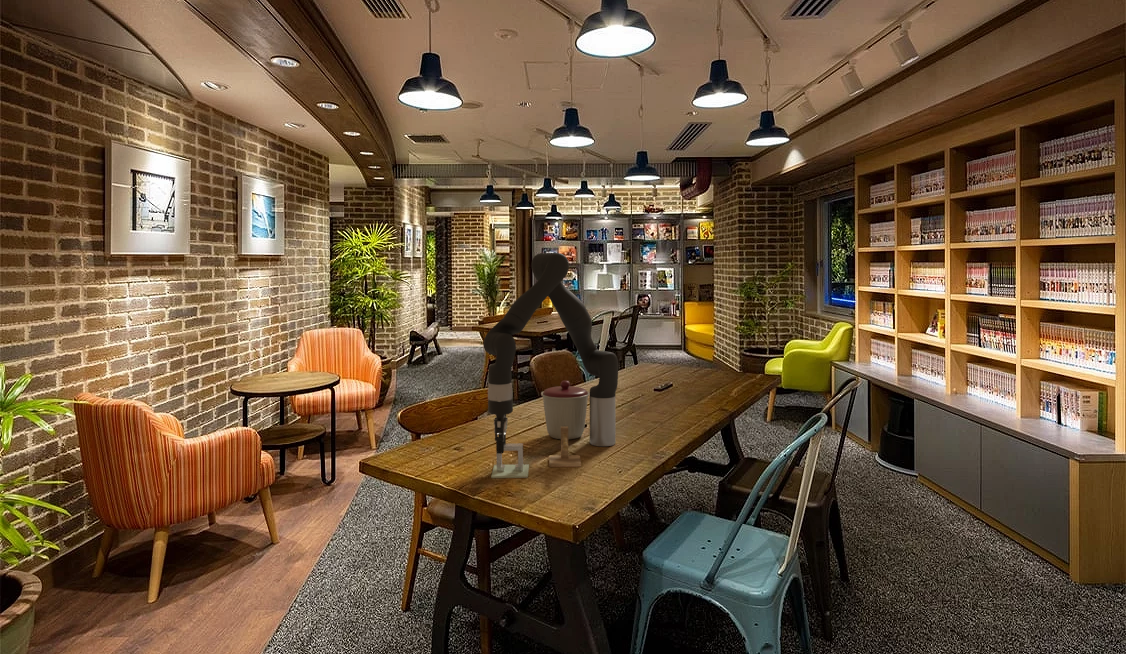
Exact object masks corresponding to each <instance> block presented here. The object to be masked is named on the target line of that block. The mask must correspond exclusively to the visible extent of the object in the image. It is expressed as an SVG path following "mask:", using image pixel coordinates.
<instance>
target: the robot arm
mask: <svg viewBox="0 0 1126 654" xmlns="http://www.w3.org/2000/svg"><path fill="white" fill-rule="evenodd" d="M531 270H532V274H533V276H534V277H535V280H536V282H535V283H534V284H533V285H532V286H531V287H530V288H528V289H527V290H525V292H523V293H522V295H520V296H519V297H518V298H516V300H515V301H514V302H513V303H512V304H511V306H510V308H509V309H508V311H506V314H505V315H504V316H503V318H501V320H499V321H498V322H497V323H496V324H495V325H494V326H493V327H492V328H491V329H490V330H489V331H488V332H487V334H485V337H484V340H483V349H484V351H485V352H486V353H487V354H489V355H493V356H496V358H495V363H491V364H490V365H489V366H488V375H487V376H488V377H487V378H488V386H487V387H488V388H487V406H488V407H487V410H488V411H487V412H488V413H489V414H490V415H495V417H494V419H493V427H494V429H493V432H494V441H495V442H496V443H495V447H496V450H495V452H497V453H498V454H502V455H503V453H504V452H505V451H504V444H507V438H506V437H507V436H506V434H507V429H508V421H509V419H508V417H507V415H510V414H512V413H513V411H514V407H513V405H514V404H513V401H514V399H513V398H514V397H513V394H514V393H513V384H512V382H513V381H512V378H513V377H512V368H513V365H514V360H515V356H516V350H517V344H516V341H515V337H514V336H513V335H516V334H519V333H521V332H522V331H523V330H524V329H525V327H526V325H527V324H528V323H529V321H530V320H531V318H532V316H533V315H534V313H535V312H536V311H537V310H538V308H539V307H540V305H541V304H542V303H543V302H544V301H545V300H546V298H549V300H550V302H551V303H552V305H553V307H554V308H555V311H556V312H557V314H558V317H559V319H560V320H561V322H562V324H563V326H564V327H565V329H566V331H567V332H568V334H569V336H570V338H571V340H572V342H573V344H574V345H575V347H576V350H577V353H578V354H579V355H578V356H579V357H580V359H581V362H582V364H583V367H584V369H585V371H586V372H587V373H588V374H589V375H591V376H593V377H599V378H598V384H597V385H594V386H591V387H590V388H589V393H590V394H589V444H590V445H592V446H595V447H596V446H597V447H609V446H611V447H612V446H614V445H615V444H616V392H617V389H618V384H619V383H618V382H619V359H618V356H617V355H616V354H615V353H614V352H611V351H605V350H599V348H597V346H596V345H595V342H594V341H593V339H592V330H593V329H592V327H593V322H592V318H591V315H590V313H589V311H588V310H587V308H586V306H585V304H584V302H582V301H581V299H580V298H579V297H578V296H577V295H576V294H574V293H573V292H572V291H571V290H570V289H568V287H567V286H565V284H564V283H563V282H562V281H563V280H564V279H565V278H566V277H567V275H568V274H569V273H568V272H569V270H570V263H569V260H568V258H567V256H565V254H563V253H560V252H539V253H537V254H536V255H534V257H532V260H531Z"/></svg>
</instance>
